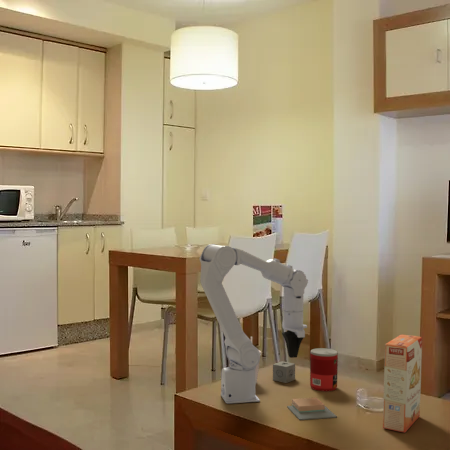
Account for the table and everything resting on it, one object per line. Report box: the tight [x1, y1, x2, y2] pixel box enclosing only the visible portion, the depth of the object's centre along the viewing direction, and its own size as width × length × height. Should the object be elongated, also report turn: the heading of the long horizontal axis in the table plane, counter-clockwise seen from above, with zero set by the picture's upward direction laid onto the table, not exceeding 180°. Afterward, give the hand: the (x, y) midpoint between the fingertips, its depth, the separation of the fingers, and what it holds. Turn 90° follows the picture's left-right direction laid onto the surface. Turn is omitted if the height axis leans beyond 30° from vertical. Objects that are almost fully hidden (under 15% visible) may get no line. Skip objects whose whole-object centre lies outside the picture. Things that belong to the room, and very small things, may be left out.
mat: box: [286, 405, 338, 421], centre depth 157 cm, size 10×10×1 cm
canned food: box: [309, 347, 339, 392], centre depth 178 cm, size 8×8×11 cm
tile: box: [291, 397, 326, 412], centre depth 159 cm, size 7×2×6 cm
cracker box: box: [382, 334, 423, 434], centre depth 149 cm, size 14×6×21 cm, turn 148°
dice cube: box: [272, 361, 296, 384], centre depth 186 cm, size 5×5×5 cm
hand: (292, 357), depth 174 cm, fingers closed
